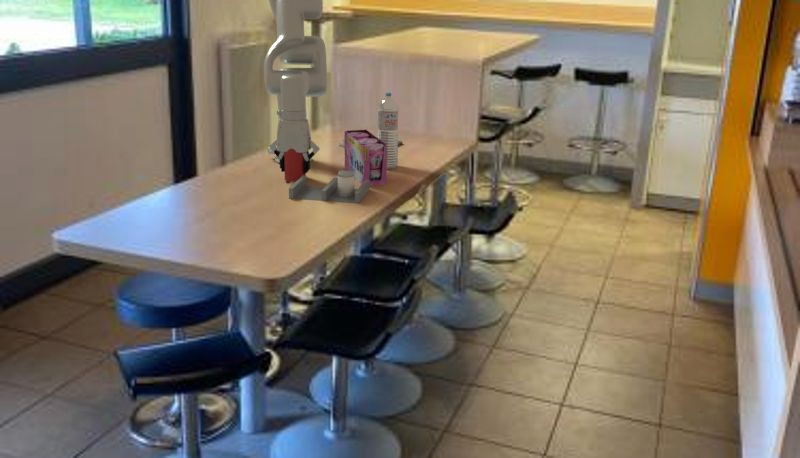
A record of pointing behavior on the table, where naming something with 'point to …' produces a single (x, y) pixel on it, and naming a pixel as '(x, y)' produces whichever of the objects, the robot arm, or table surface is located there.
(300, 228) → the table surface
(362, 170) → the gum box
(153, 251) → the table surface
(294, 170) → the beer can
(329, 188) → the organizer
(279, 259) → the table surface
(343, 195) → the shaker
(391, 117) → the water bottle
